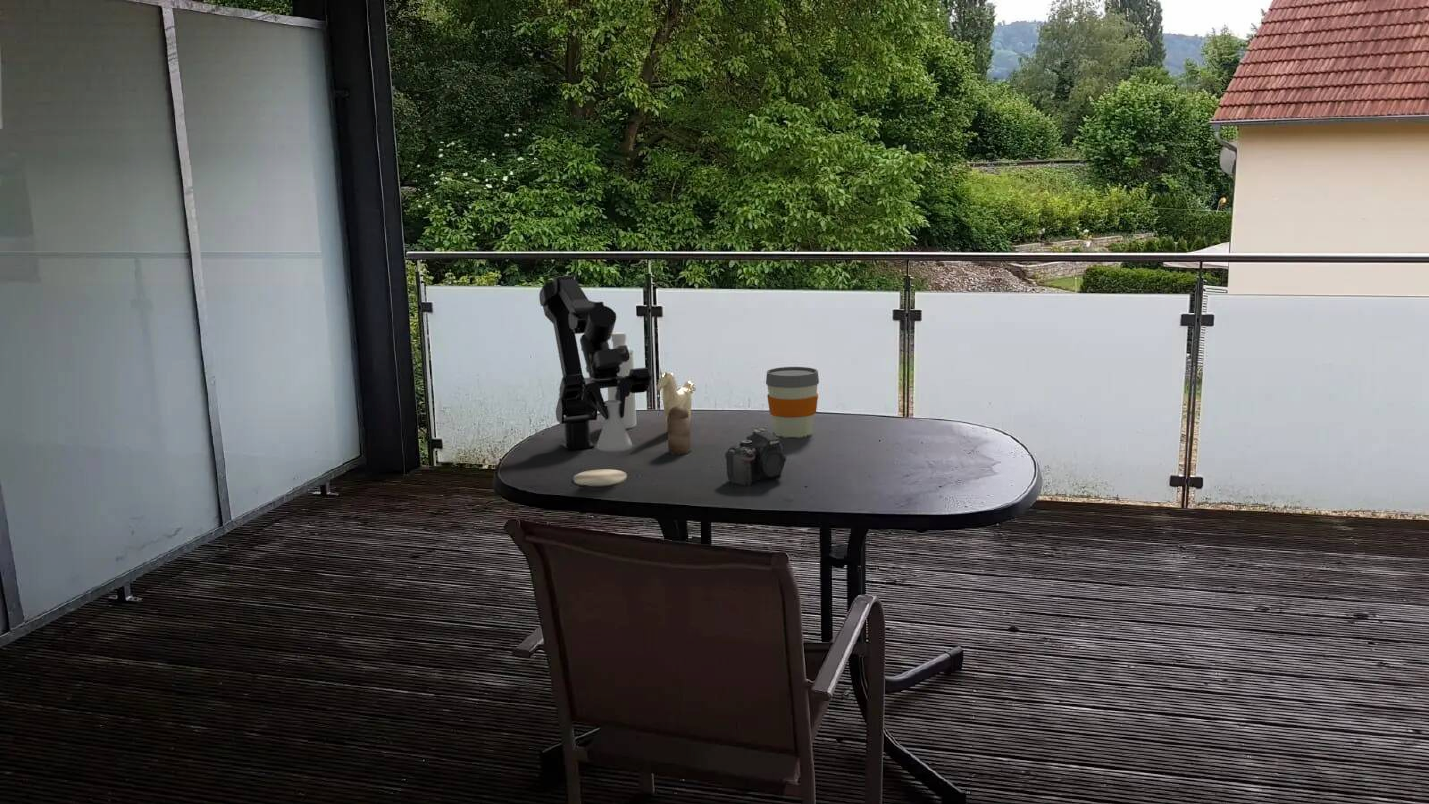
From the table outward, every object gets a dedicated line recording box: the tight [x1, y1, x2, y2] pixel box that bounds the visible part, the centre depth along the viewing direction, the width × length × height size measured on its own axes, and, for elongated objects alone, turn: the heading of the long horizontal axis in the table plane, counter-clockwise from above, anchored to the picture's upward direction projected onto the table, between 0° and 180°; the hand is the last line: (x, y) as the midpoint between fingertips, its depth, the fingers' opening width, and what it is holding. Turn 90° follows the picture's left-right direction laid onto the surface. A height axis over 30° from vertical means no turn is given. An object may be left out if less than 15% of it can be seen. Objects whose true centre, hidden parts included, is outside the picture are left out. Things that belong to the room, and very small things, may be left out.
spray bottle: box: [607, 331, 637, 430], centre depth 283 cm, size 7×7×25 cm
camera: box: [724, 428, 787, 487], centre depth 234 cm, size 13×10×10 cm
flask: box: [595, 400, 633, 453], centre depth 236 cm, size 7×7×10 cm
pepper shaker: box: [666, 406, 692, 455], centre depth 257 cm, size 5×5×10 cm
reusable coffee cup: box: [765, 366, 820, 438], centre depth 271 cm, size 12×12×15 cm
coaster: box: [573, 468, 628, 487], centre depth 237 cm, size 11×11×1 cm
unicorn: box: [656, 368, 697, 427], centre depth 277 cm, size 20×4×17 cm, turn 156°
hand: (615, 417), depth 234 cm, fingers closed on flask, 3 cm apart
